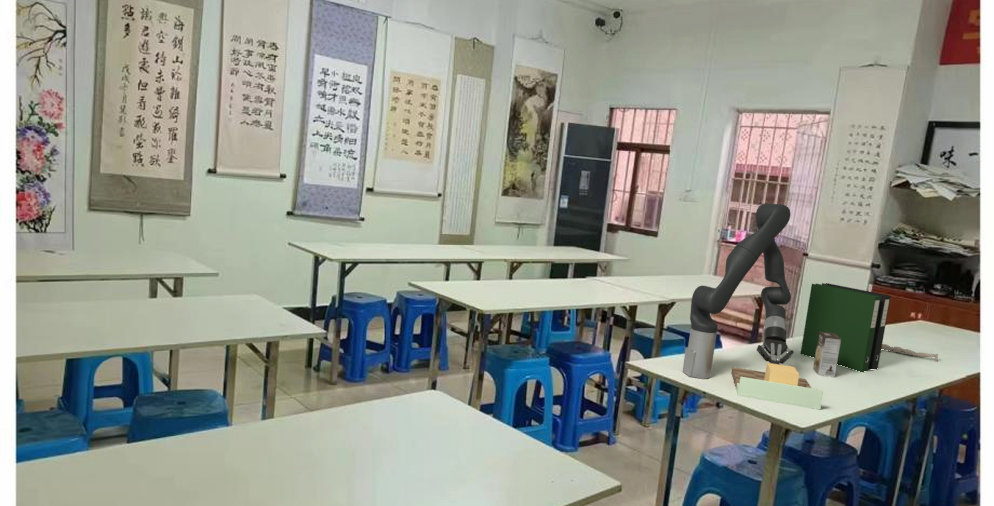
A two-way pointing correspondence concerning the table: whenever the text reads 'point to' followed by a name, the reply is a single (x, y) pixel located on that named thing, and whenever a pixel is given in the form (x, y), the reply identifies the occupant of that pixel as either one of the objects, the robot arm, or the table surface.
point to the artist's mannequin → (908, 351)
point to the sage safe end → (779, 392)
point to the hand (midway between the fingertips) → (774, 371)
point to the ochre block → (781, 374)
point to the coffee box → (827, 354)
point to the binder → (847, 323)
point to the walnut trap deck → (758, 376)
